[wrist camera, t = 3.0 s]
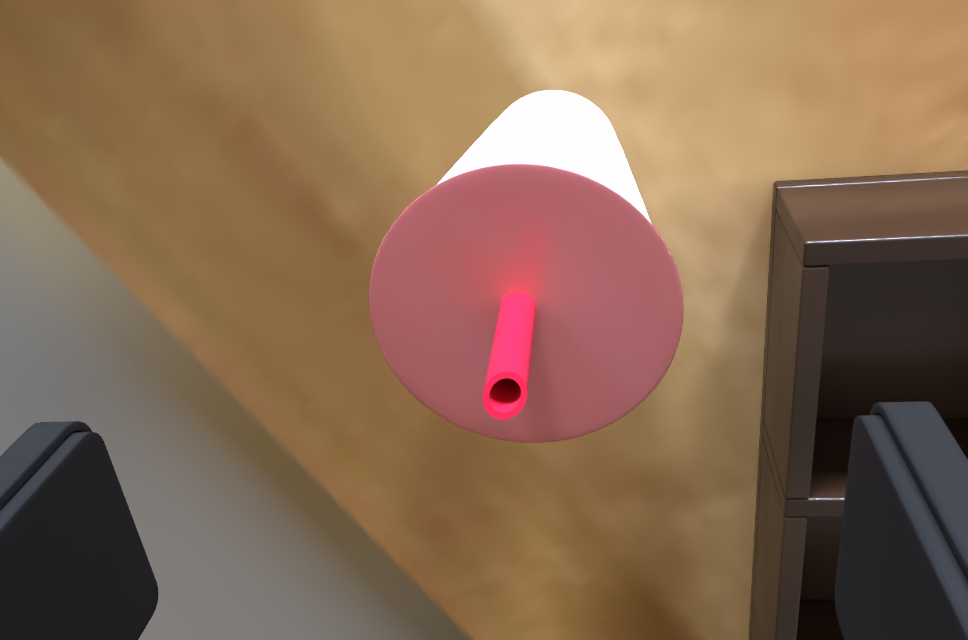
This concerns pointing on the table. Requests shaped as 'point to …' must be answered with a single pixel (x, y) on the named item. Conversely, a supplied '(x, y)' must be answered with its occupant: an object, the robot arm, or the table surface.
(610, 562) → the table surface
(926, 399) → the tray
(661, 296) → the cup
